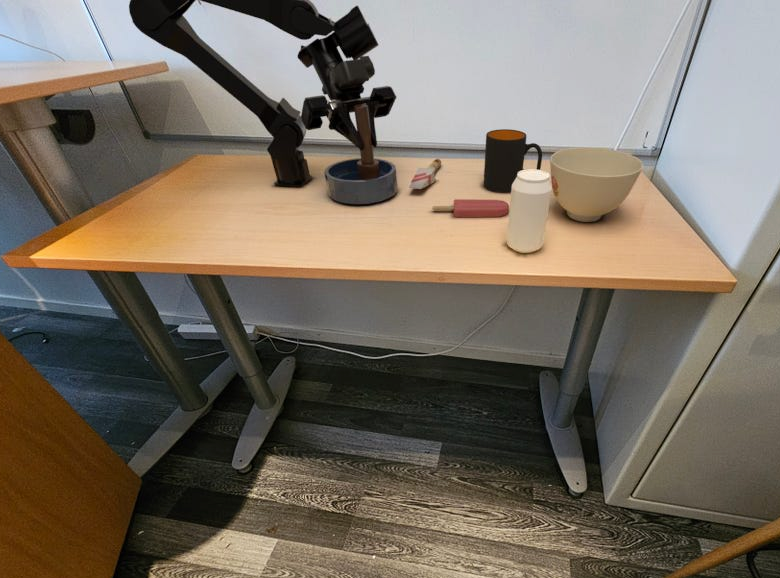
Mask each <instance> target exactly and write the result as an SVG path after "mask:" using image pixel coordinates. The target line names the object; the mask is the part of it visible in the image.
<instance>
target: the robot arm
mask: <svg viewBox="0 0 780 578" xmlns="http://www.w3.org/2000/svg"><path fill="white" fill-rule="evenodd" d="M196 1H197V0H129V4H128V10H129V12H128V13H129V16H130V18H131V21H132V24H133V25H134V26H135V27H136V29H138V31H139V32H141V33H142V34H144V35H145V36H146V37H148V38H150V39H152V41H154V42H156V43H158V44H159V45H161V46H162V47H165V48H167V49H169V50H171V51H173V52H175V53H177V54H178V55H181V56H183V57H184V58H186V59H187V60H189V61H190V62H191V63H192V64H193V65H194V66H196V68H198V69H199V70H200V71H202V72H203V73H204V74H205V75H206V76H208V77H209V78H210V79H211V80H212V81H214V82H215V83H216V84H218V85H219V86H220V87H221V88H222V89H223V90H225V91H226V92H227V93H228V94H229V95H231V96H232V97H233V98H234V99H235V100H237V101H238V102H239V103H240V104H242V105H243V106H244V107H245V108H247V109H248V110H249V111H250V112H251V113H252V114H254V115H255V116H256V117H257V118H258V119H259V121H260V122H261V124H262V125H263V127H264V128H265V130H266V131H267V132H268V133H269V135H270V136H272V139H271V141H270V143H269V144H268V147H267V148H266V151H267V153H268V154H269V156H270V159H271V163H272V166H273V170H274V174H275V177H276V181H274V183H273V185H274V186H277V187H291V188H292V187H293V188H302V187H303V186H304V185H305V184H307V183H308V182H309V181H310V180H311V179H312V178H313V175H312V174H311V172H310V169H309V164H308V160H307V159H306V158H305V155H304V151H303V150H300V149H299V148H300V147H301V145H302V143H303V142H304V139H305V137H306V134H307V131H313V130H318V129H321V128H322V126H323V123H324V121H323V119H322V118H323V117H326V118H327V119H328V122H329V123H328V129H329V130H330V131H335V132H337V133H338V134H340V135H341V136H343V137H344V138H345V139H347V140H348V141H349V142H351V143H352V144H353V145H354V146H355V147H356V148H358V149H359V151H360V150H363V149H364V145H363V142H362V140H361V138H360V136H359V134H358V132H357V127H356V125H355V124H354V122H353V120H352V118H351V114H350V113H355V111H354V106H355V105H360V104H364V105H368V112H369V121H370V129H371V138H372V146H373V147H374V148H377V146H378V140H377V139H378V138H377V132H376V124H375V119H378V118H384V117H387V116H388V115H390V113H391V110H392V108H393V105H394V104H395V101H396V100H397V95H396V92H395V91H394V89H393V88H392V86H390V85H385V86H378V87H372V90H371V93H370V96H365V97H364V96H363V97H362V96H361V94H363V93H364V91H365V87H364V84H365V83H366V82H368V81H369V80H370V79H371V78H373V76H375V75H376V70H375V66H374V62H373V61H372V60H371V58H370V56H369V55H367V54H368V53H370V52H371V51H372V50H374V49H376V48H377V47H378V46H379V42H378V40H377V38H376V36H375V34H374V31H373V30H372V28H371V26H370V24H369V23H368V22H367V20H366V19H365V16H364V15H363V13H362V11H361V9H360V7H359V5H355V6H354V7H352V8H351V9H350V10H349V12H348V13H346V14H345V15H343V16H342V17H341V18H338V20H336V21H334V20H332V18H331V17H330V18H328V17H326V16H325V15H323V14H321V13H320V12H319V10H318V9H317V7H316V5H315V4H314V3H313V2H312V1H311V0H199V1H200V2H204V3H207V4H210V5H214V6H217V7H220V8H224V9H226V10H230V11H233V12H237V13H239V14H243V15H247V16H249V17H253V18H256V19H260V20H263V21H265V22H267V23H268V24H271V25H272V26H274V27H275V28H277V29H279V30H281V31H283V32H285V33H287V34H289V35H290V36H293V37H294V38H296V39H299V40H302V41H307V40H311V38H313V37H314V36H315V35H316V36H321V37H323V38H315V39H314V40H313V41H312V42H310V43H309V44H307V45H303V44H301V45H300V50H299V51H298V53H297V59H298V60H299V61H300V62H301V63H302V64H303V66H304V67H305V68H307V69H308V68H310V67H311V66H313V68H314V70H315V72H316V74H317V76H318V78H319V80H320V83H321V84H322V87H321V92H322V94H323V95H315V96H309V97H308V96H307V97H305V98H304V100H303V103H302V109H301V111H300V110H298V109H296V108H294V107H293V105H291V104H290V103H289V102H288V100H286V98H285V97H282V98H281V99H280V101H279V102H278V101H276V100H275V99H272V98H271V97H269V96H268V95H267V94H265V93H264V92H263V91H262V90H261V89H260V88H259V87H257V86H256V85H255V84H254V83H252V82H251V80H250V79H248V78H247V77H246V76H244V75H243V74H242V73H241V72H240V71H239V70H238V69H237V68H235V67H234V66H233V65H231V64H230V62H228V61H227V60H226V59H225V58H224V57H222V55H220V54H219V53H218V52H217V51H215V49H213V48H212V47H211V46H210V45H209V44H208V43H206V42H205V41H204V40H203V39H202V38H201V37H200V36H199V35H198V34H197V32H196V31H195V29H194V28H193V27H192V25H191V23H190V22H189V21H188V20H187V18H186V17H185V16H184V15H185V14H186V12H188V10H189V9H190V8H191V7H192V6H193V4H194V3H195V2H196ZM338 47H339V48H338ZM339 49H340V50H341V52H342V54H343V55H344V58H345V59H346V60H344V58H343V57H342V55H341V52H340V50H339ZM348 59H350V60H348ZM369 82H370V81H369ZM325 95H327V97H328V99H329V100H328V99H327V97H326V96H325Z"/></svg>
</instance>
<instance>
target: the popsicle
mask: <svg viewBox="0 0 780 578" xmlns="http://www.w3.org/2000/svg"><path fill="white" fill-rule="evenodd" d="M509 209H510V203H508V202H507V201H504V200H502V199H479V198H478V199H477V198H476V199H474V198H472V199H471V198H470V199H469V198H467V199H465V198H464V199H463V198H461V199H459V198H456V199H454V200H453V205H434V206H432V210H434V211H453V217H454V218H487V217H488V218H494V217H495V218H498V217H504V216H506V215H508V214H509Z"/></svg>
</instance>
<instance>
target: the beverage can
mask: <svg viewBox="0 0 780 578" xmlns="http://www.w3.org/2000/svg"><path fill="white" fill-rule="evenodd" d="M552 193H553V189H552V182H551V174H550V173H549V172H547V171H545V170H542V169H540V170H537V168H528V169H523V170H522V171H519V172H518V173H517V177H516V179H515V181H514V182H513V184H512V189H511V192H510V199H509V200H510V201H509V211H508V223H507V231H506V244H507V246H508V247H509V248H511V249H512V250H513V251H515V252H517V253H520V254H531V253H534V252H536V251H538V250H540V249H541V248H542V247H543V245H544V241H545V234H546V229H547V223H548V218H549V217H548V216H549V212H550V211H549V210H550V206H551V205H550V204H551V199H552Z"/></svg>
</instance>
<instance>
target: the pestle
mask: <svg viewBox="0 0 780 578" xmlns="http://www.w3.org/2000/svg"><path fill="white" fill-rule="evenodd" d="M354 111H355V112H354V118H355V124H356V125H355V127H356V130H357V132H358V134H359V136H360V138H361V140H362V142H363V145H364V149H363V150H360V149H359V155H360V158H361V160H360V161H358V162H357V166H358V173H359V180H368V179H374V178H378V177H380V169H379V161H378V160H375V159H374V158H375V156H374V148H373V145H372V138H371V129H370V121H369V112H368V105H364V104H360V105H355V106H354Z"/></svg>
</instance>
